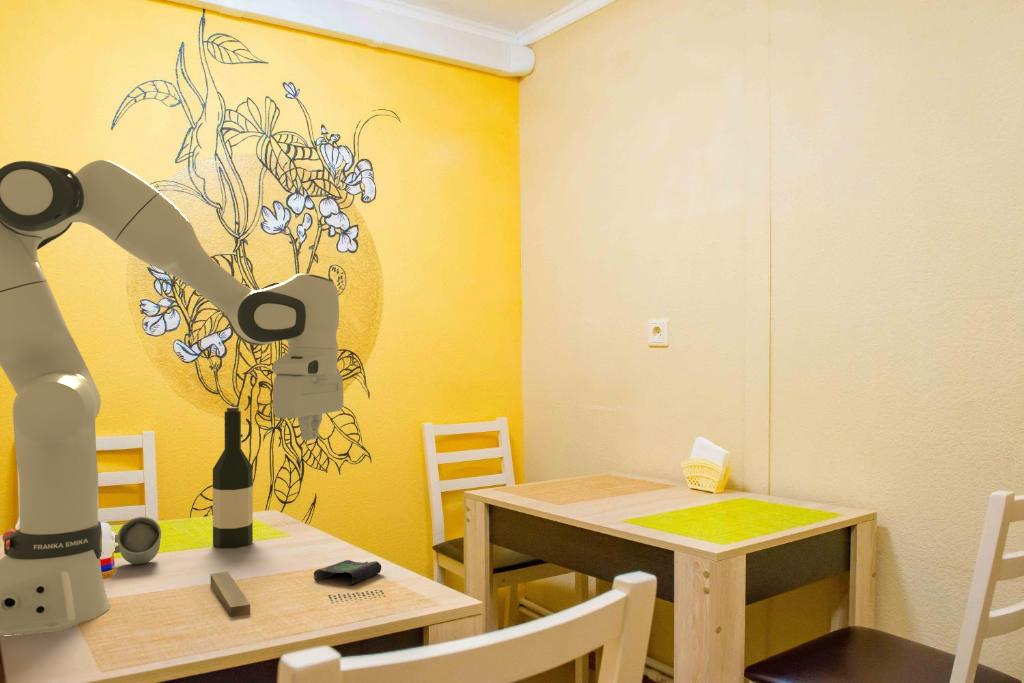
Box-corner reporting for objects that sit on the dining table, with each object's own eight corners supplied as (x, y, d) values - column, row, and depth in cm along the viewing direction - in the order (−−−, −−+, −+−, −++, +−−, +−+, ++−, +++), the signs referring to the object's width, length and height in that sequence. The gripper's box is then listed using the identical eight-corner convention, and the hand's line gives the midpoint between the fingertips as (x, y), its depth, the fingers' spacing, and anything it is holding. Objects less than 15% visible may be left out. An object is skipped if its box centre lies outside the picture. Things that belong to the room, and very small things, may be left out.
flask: (312, 568, 145) (348, 557, 155) (312, 585, 145) (349, 572, 155) (353, 571, 141) (388, 559, 151) (353, 588, 141) (388, 575, 151)
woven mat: (384, 599, 140) (384, 587, 140) (396, 619, 130) (396, 607, 130) (324, 605, 136) (324, 594, 136) (331, 627, 126) (332, 614, 126)
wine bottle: (211, 540, 177) (211, 406, 177) (250, 536, 181) (250, 405, 180) (214, 549, 170) (214, 409, 169) (255, 545, 173) (254, 408, 173)
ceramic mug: (150, 571, 159) (167, 536, 164) (149, 559, 153) (167, 522, 158) (96, 555, 158) (115, 519, 162) (94, 542, 151) (113, 505, 156)
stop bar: (230, 626, 125) (230, 607, 125) (210, 590, 143) (210, 574, 143) (250, 623, 127) (250, 604, 127) (227, 588, 144) (227, 571, 144)
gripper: (323, 362, 155) (320, 433, 155) (267, 363, 135) (264, 444, 135) (353, 363, 154) (350, 435, 154) (300, 365, 134) (297, 447, 134)
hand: (309, 439), depth 144 cm, fingers closed
